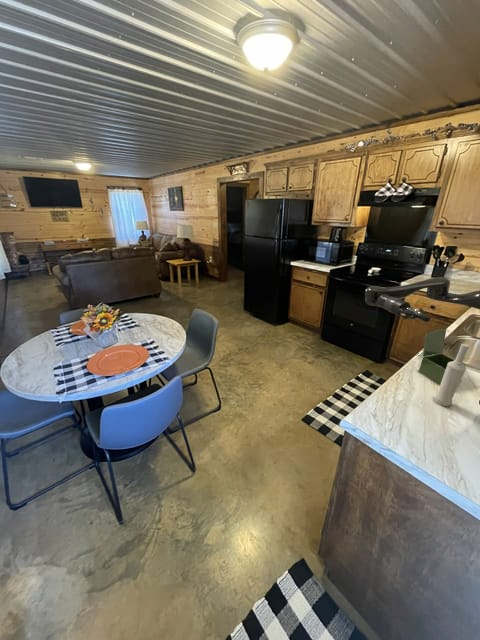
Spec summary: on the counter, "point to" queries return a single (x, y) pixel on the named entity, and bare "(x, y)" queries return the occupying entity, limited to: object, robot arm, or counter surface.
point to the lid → (434, 342)
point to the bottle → (451, 378)
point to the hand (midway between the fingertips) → (428, 319)
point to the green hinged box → (435, 366)
